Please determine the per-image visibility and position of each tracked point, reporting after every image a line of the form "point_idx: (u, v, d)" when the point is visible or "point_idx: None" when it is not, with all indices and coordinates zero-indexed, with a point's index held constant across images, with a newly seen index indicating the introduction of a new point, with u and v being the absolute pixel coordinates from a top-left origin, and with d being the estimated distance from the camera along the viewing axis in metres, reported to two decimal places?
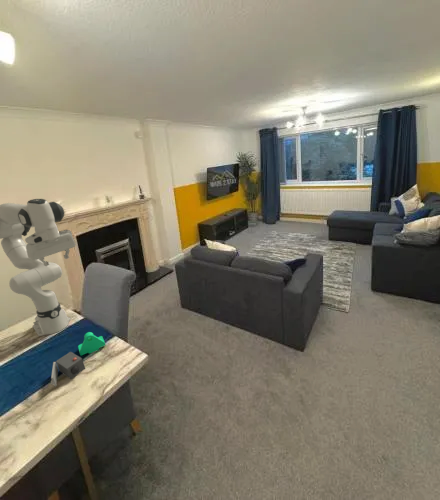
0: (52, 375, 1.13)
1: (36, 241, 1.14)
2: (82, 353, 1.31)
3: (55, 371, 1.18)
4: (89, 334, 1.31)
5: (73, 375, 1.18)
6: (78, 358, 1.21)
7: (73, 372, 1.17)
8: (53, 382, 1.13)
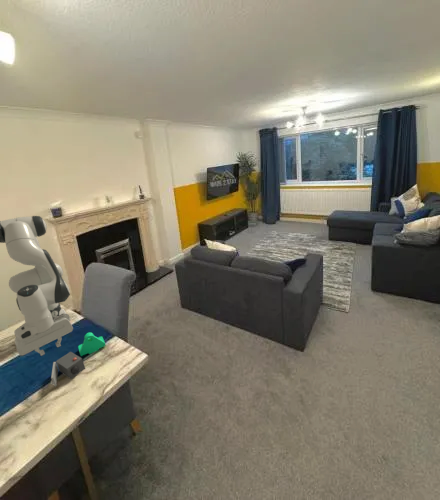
0: (52, 375, 1.13)
1: (24, 336, 1.00)
2: (82, 353, 1.30)
3: (55, 371, 1.18)
4: (89, 334, 1.31)
5: (73, 375, 1.18)
6: (78, 358, 1.21)
7: (73, 372, 1.17)
8: (53, 382, 1.13)
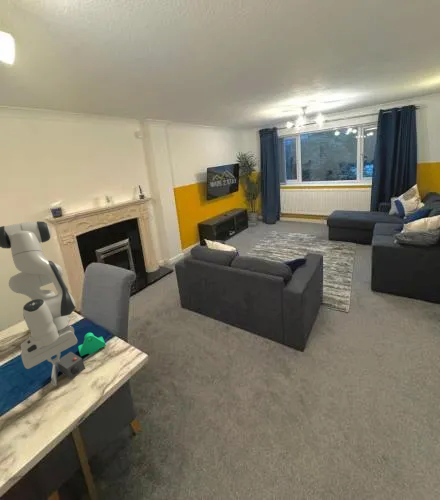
0: (52, 375, 1.13)
1: (30, 350, 1.02)
2: (82, 354, 1.30)
3: (55, 371, 1.18)
4: (89, 335, 1.31)
5: (73, 375, 1.18)
6: (78, 358, 1.21)
7: (73, 372, 1.17)
8: (53, 382, 1.13)
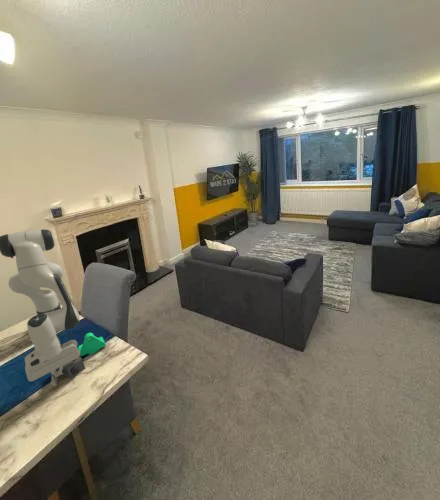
0: (52, 375, 1.13)
1: (33, 364, 1.05)
2: (82, 354, 1.30)
3: (55, 371, 1.18)
4: (89, 335, 1.31)
5: (73, 375, 1.18)
6: (78, 358, 1.21)
7: (73, 372, 1.17)
8: (53, 382, 1.13)
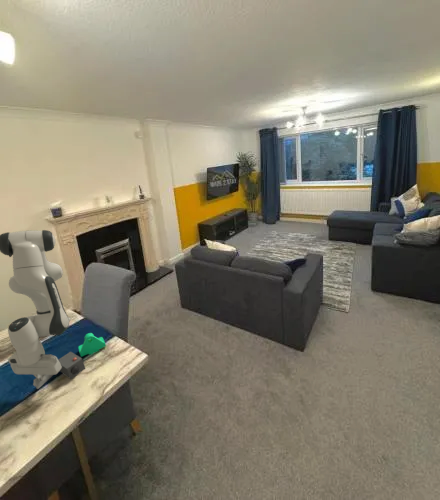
0: None
1: (12, 362, 1.07)
2: (82, 354, 1.30)
3: None
4: (89, 335, 1.31)
5: (73, 375, 1.18)
6: (78, 358, 1.21)
7: (73, 372, 1.17)
8: (35, 384, 1.12)
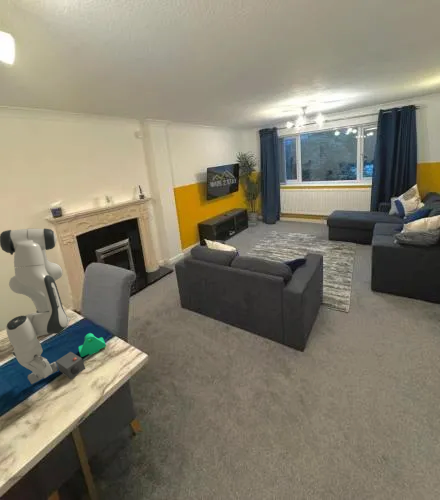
0: (31, 373, 1.15)
1: (14, 354, 1.12)
2: (83, 354, 1.30)
3: None
4: (90, 335, 1.30)
5: (73, 375, 1.18)
6: (78, 358, 1.21)
7: (73, 372, 1.17)
8: (29, 379, 1.15)
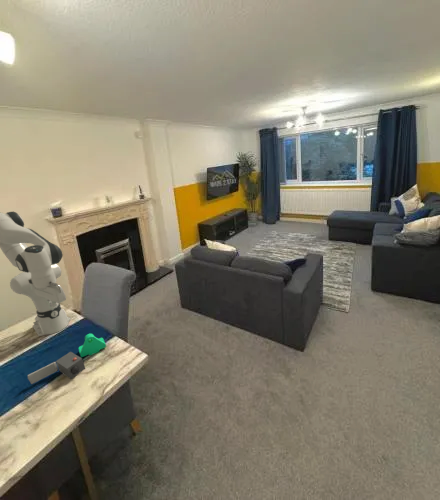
0: (31, 373, 1.15)
1: (30, 282, 1.20)
2: (83, 355, 1.29)
3: (44, 371, 1.18)
4: (90, 336, 1.30)
5: (73, 375, 1.18)
6: (78, 358, 1.21)
7: (73, 372, 1.17)
8: (29, 379, 1.15)
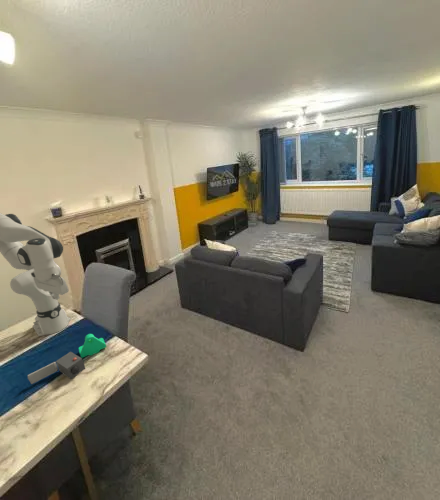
0: (31, 373, 1.15)
1: (32, 275, 1.21)
2: (83, 355, 1.29)
3: (44, 371, 1.18)
4: (90, 336, 1.30)
5: (73, 375, 1.18)
6: (78, 358, 1.21)
7: (73, 372, 1.17)
8: (29, 379, 1.15)
